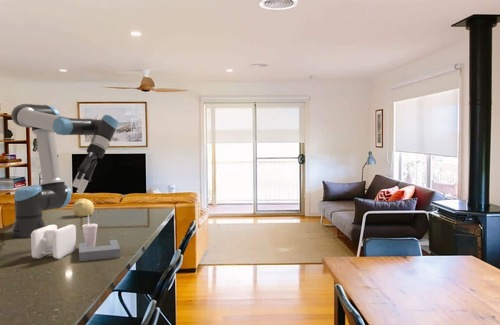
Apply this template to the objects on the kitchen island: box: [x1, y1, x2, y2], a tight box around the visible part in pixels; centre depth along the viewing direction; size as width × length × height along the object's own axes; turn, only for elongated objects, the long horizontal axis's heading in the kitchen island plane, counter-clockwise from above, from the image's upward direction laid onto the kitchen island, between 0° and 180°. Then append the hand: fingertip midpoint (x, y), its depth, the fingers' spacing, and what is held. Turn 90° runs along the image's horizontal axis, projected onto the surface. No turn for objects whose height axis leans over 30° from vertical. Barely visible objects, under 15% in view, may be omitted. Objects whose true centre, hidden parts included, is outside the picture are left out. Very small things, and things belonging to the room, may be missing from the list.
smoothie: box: [81, 215, 99, 247], centre depth 180 cm, size 6×6×14 cm
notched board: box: [78, 239, 121, 262], centre depth 170 cm, size 16×15×4 cm
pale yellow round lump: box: [72, 197, 95, 218], centre depth 252 cm, size 11×12×11 cm
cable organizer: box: [30, 224, 77, 260], centre depth 167 cm, size 15×11×12 cm
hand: (77, 190), depth 182 cm, fingers open, 13 cm apart
